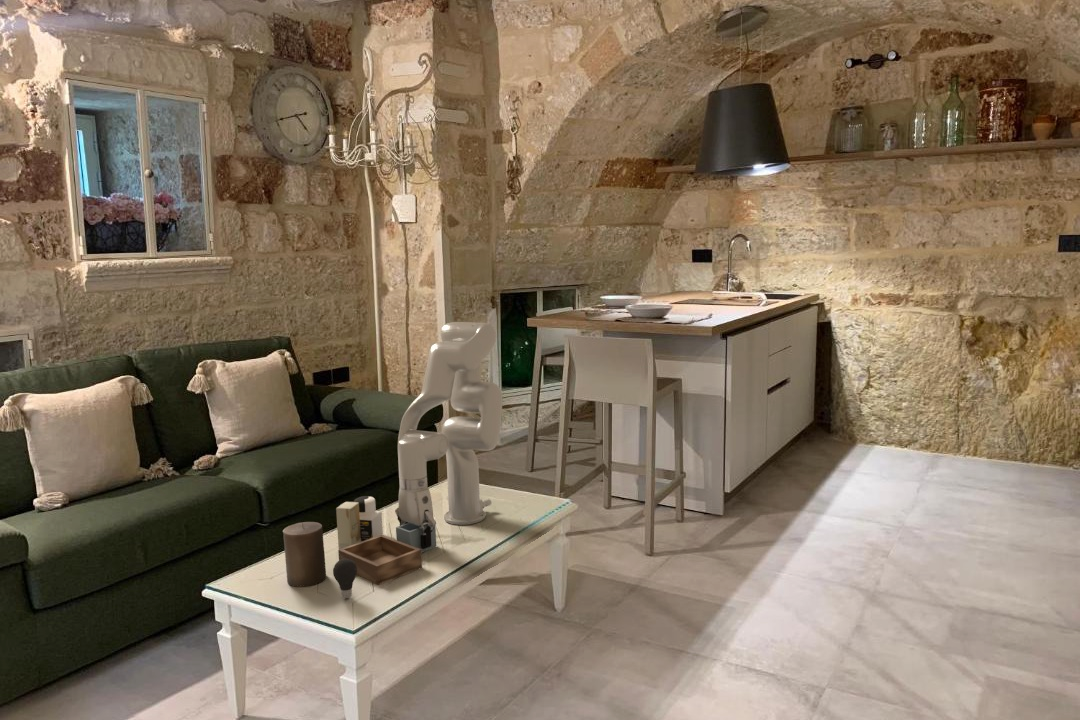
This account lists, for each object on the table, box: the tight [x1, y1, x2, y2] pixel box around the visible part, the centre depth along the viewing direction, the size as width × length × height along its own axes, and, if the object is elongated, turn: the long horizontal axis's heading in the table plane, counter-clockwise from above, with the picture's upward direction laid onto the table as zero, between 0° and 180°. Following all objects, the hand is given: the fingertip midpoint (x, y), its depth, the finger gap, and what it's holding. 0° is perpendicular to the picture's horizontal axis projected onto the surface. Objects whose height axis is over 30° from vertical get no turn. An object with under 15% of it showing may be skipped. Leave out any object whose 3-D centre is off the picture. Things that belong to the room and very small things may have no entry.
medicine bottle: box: [353, 495, 384, 542], centre depth 239 cm, size 7×7×12 cm
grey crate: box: [395, 521, 437, 553], centre depth 230 cm, size 9×6×7 cm, turn 137°
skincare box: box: [335, 501, 361, 550], centre depth 233 cm, size 6×4×12 cm
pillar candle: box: [282, 521, 327, 587], centre depth 211 cm, size 10×10×15 cm
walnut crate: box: [337, 534, 423, 586], centre depth 218 cm, size 14×17×5 cm
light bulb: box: [332, 559, 357, 601], centre depth 199 cm, size 6×6×10 cm
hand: (416, 543), depth 230 cm, fingers open, 7 cm apart
